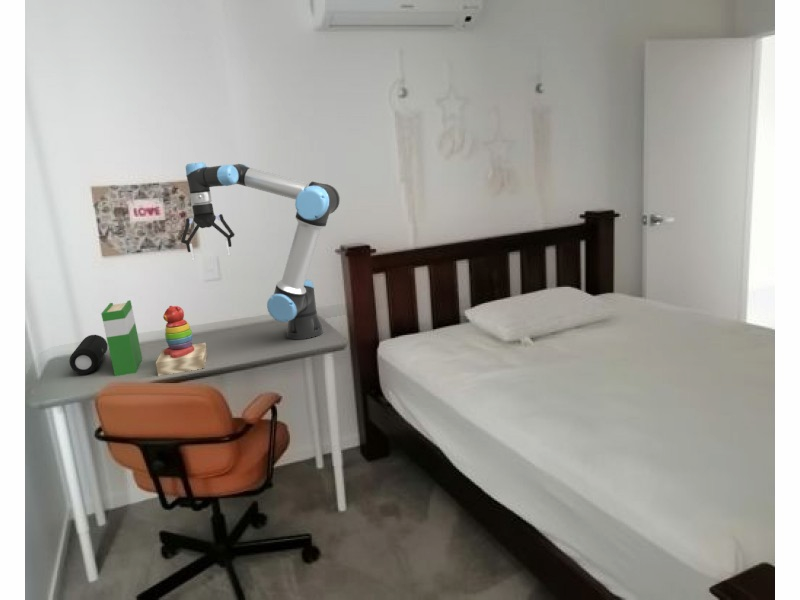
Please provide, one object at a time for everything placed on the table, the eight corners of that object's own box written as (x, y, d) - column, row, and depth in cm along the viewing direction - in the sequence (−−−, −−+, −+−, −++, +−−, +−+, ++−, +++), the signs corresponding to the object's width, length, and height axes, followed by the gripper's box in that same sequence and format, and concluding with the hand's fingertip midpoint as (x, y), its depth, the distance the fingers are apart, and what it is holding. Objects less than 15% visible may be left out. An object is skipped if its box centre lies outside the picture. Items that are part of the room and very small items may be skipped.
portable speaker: (99, 373, 225) (94, 348, 223) (70, 378, 223) (64, 353, 220) (110, 354, 249) (105, 331, 247) (84, 358, 247) (79, 335, 244)
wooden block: (207, 354, 236) (205, 342, 234) (204, 368, 219) (201, 355, 218) (164, 361, 232) (162, 349, 231) (158, 375, 216) (155, 362, 215)
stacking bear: (162, 353, 226) (153, 307, 221) (188, 346, 232) (180, 301, 228) (173, 359, 218) (164, 311, 213) (199, 351, 224) (191, 305, 220)
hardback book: (122, 361, 237) (110, 303, 231) (142, 358, 239) (130, 300, 233) (114, 376, 220) (101, 313, 215) (136, 372, 222) (123, 310, 217)
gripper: (167, 208, 226) (177, 263, 231) (234, 200, 231) (243, 254, 236) (169, 206, 233) (179, 260, 238) (235, 199, 239) (243, 252, 244)
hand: (211, 257), depth 237 cm, fingers open, 13 cm apart
